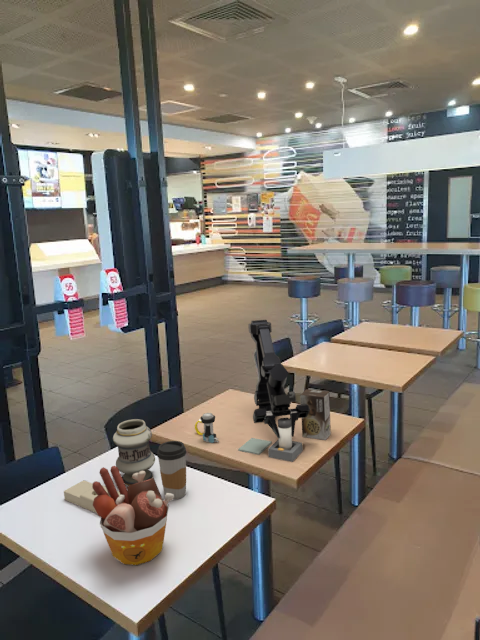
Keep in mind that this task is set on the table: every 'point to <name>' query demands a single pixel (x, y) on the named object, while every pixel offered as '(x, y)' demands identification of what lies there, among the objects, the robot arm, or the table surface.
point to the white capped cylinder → (285, 433)
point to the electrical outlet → (82, 495)
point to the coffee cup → (173, 468)
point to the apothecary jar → (133, 450)
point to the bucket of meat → (131, 516)
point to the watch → (197, 428)
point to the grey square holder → (285, 451)
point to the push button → (208, 427)
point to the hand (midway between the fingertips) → (286, 437)
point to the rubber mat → (255, 446)
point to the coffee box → (316, 414)
